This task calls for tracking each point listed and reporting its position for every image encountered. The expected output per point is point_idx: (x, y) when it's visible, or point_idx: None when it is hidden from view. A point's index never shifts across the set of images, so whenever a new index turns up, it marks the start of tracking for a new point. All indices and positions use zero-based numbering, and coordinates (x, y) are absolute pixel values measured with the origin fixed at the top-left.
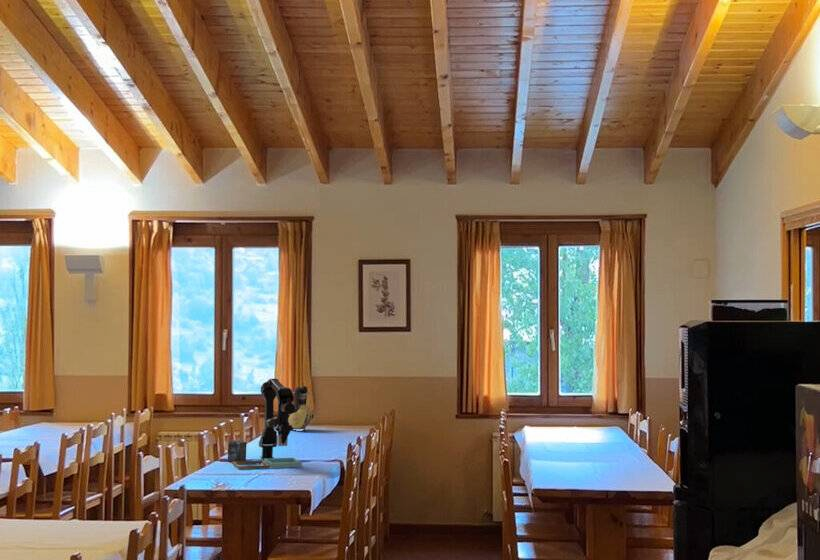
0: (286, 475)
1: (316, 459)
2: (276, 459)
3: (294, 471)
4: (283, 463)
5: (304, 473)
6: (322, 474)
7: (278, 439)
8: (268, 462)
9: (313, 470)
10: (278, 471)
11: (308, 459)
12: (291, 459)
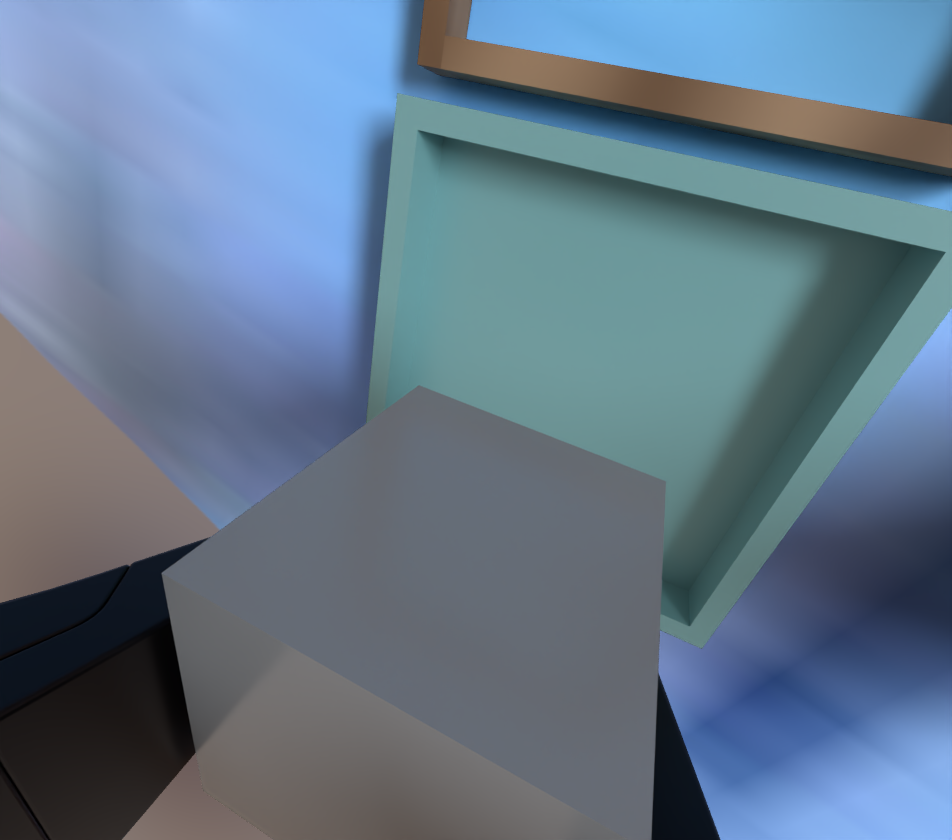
0: (34, 84)
1: (722, 834)
2: (808, 435)
3: (212, 282)
4: (382, 296)
5: (127, 308)
6: (98, 402)
7: (360, 506)
8: (601, 138)
9: (238, 453)
10: (226, 105)
11: (777, 809)
12: (694, 603)
